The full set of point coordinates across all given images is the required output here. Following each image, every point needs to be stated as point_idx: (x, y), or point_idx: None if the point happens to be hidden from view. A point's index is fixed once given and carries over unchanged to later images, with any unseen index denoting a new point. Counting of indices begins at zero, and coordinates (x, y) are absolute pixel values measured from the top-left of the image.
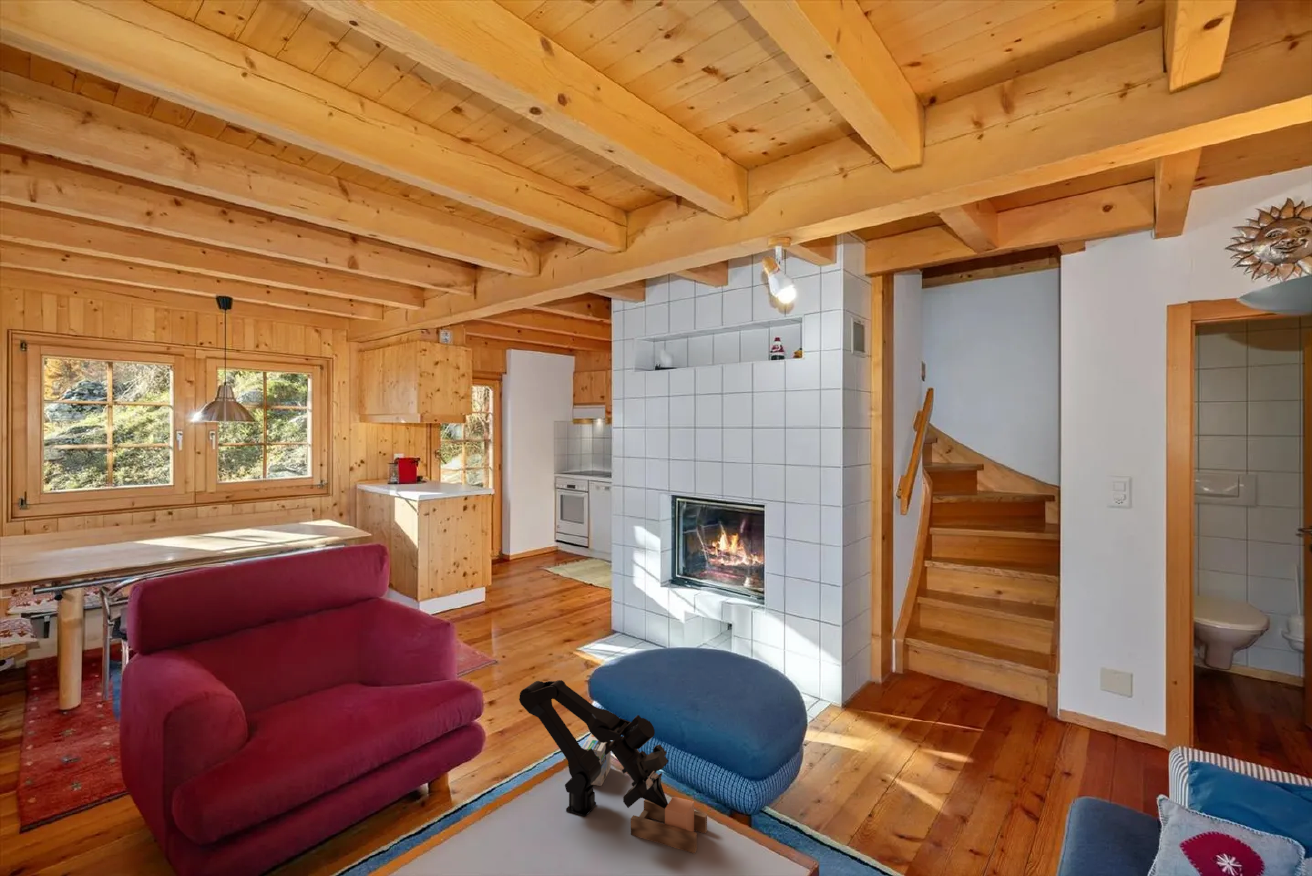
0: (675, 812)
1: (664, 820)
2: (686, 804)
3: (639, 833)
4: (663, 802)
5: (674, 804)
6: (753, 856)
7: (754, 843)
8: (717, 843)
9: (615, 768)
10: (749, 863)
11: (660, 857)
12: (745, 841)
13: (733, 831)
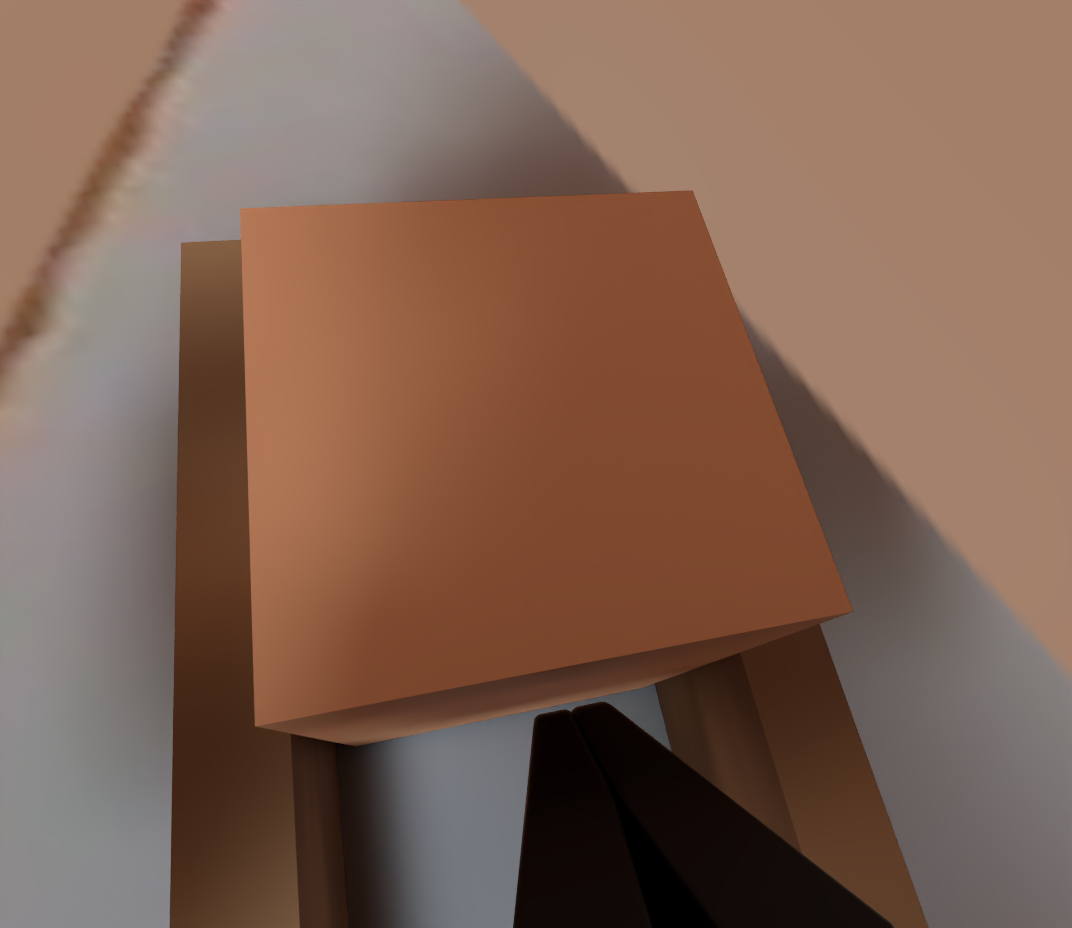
0: (760, 377)
1: (343, 918)
2: (420, 290)
3: None
4: (711, 791)
5: (573, 503)
6: (376, 17)
7: (225, 33)
8: None
9: None
10: (460, 24)
11: (863, 580)
12: (232, 83)
13: (135, 181)
